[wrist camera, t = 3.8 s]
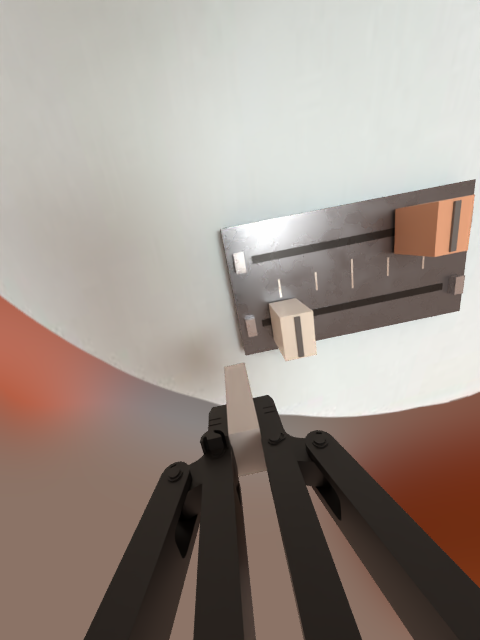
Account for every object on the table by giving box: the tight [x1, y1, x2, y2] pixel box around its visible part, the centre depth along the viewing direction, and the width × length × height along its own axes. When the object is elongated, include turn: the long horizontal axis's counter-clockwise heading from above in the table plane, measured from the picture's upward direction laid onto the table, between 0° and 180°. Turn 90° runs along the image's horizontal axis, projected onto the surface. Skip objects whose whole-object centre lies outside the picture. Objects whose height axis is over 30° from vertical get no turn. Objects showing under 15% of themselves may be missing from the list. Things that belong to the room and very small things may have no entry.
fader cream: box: [269, 298, 317, 361], centre depth 24 cm, size 3×4×5 cm
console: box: [220, 179, 476, 355], centre depth 27 cm, size 26×14×3 cm, turn 101°
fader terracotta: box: [394, 195, 475, 257], centre depth 22 cm, size 3×4×5 cm
